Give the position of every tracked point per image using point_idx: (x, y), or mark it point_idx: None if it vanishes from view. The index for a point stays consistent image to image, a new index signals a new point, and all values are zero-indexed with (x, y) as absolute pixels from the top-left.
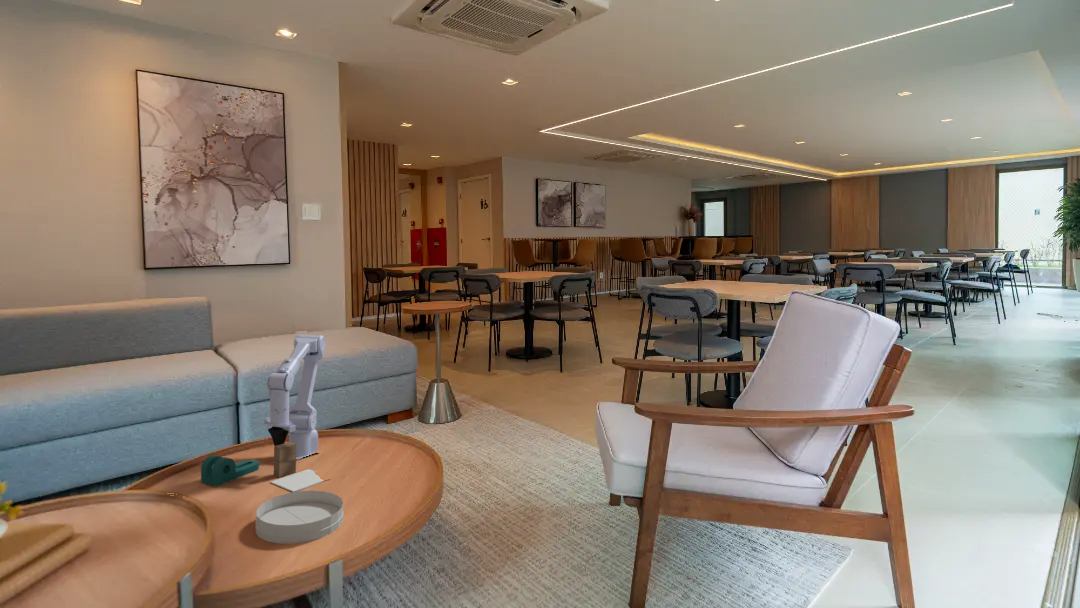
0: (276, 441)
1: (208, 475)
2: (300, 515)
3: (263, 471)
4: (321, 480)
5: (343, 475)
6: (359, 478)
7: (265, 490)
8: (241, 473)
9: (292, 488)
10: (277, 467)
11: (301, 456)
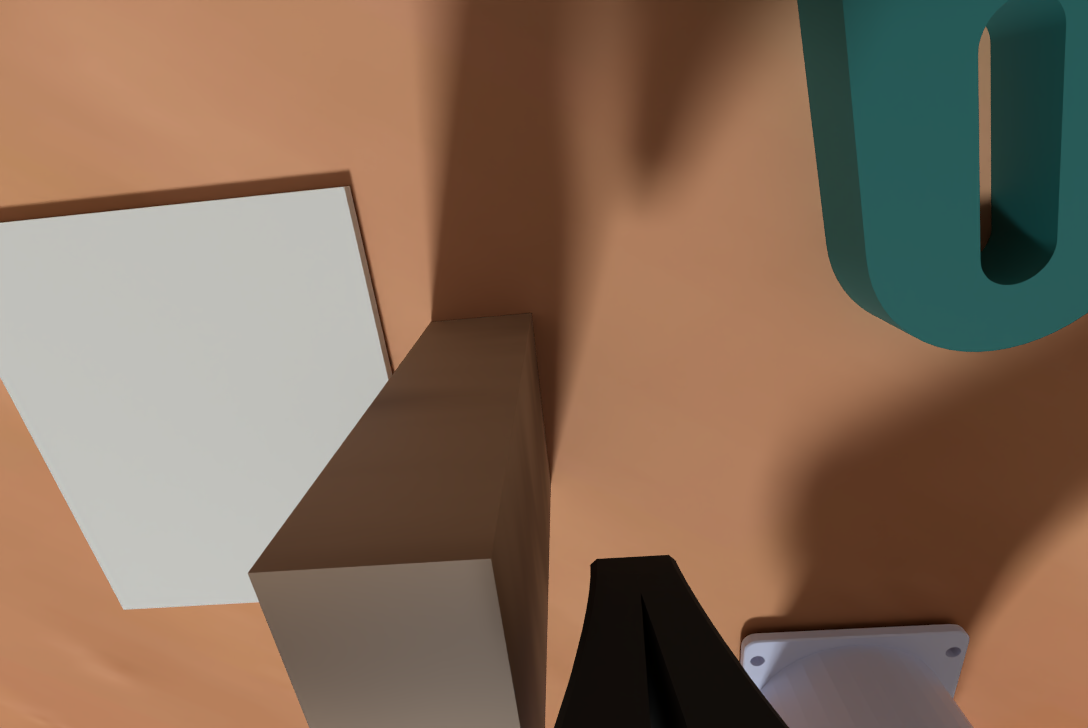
0: (578, 719)
1: None
2: None
3: (736, 299)
4: (101, 532)
5: (164, 677)
6: (45, 709)
7: (148, 21)
8: (818, 5)
9: (14, 261)
10: (443, 360)
11: (763, 687)
